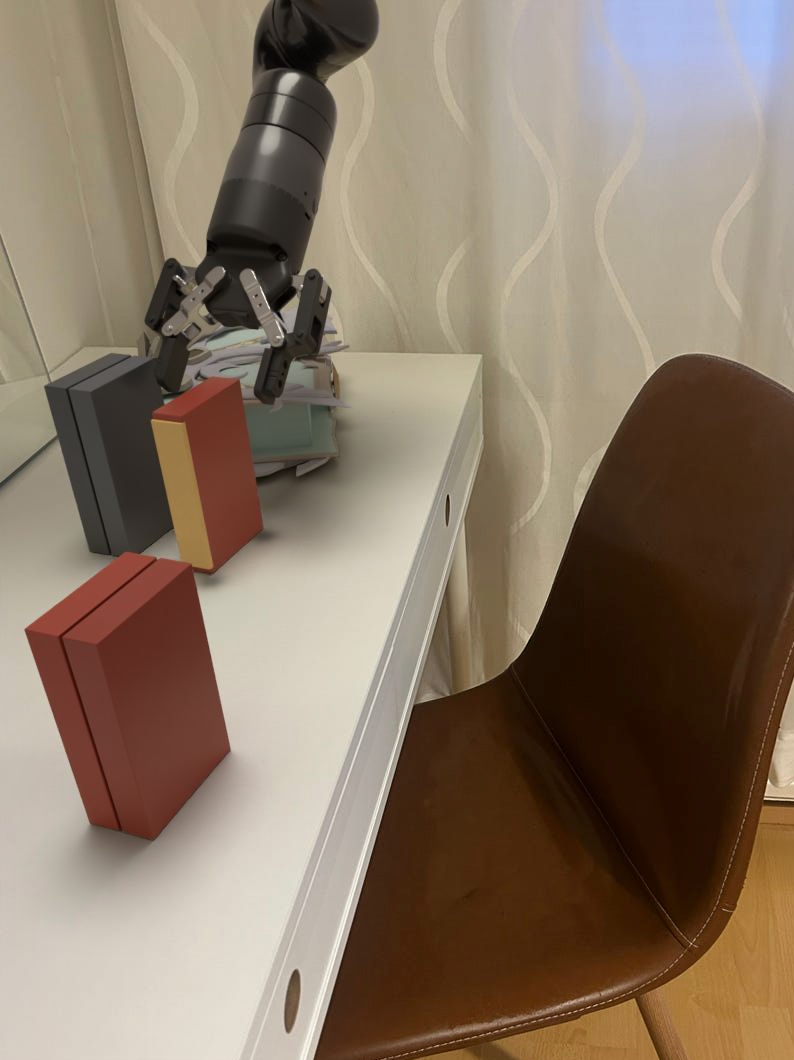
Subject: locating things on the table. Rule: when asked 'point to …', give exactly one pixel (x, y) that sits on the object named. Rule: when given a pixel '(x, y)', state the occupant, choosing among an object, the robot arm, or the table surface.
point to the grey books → (113, 451)
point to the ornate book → (296, 416)
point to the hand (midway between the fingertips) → (214, 394)
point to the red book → (208, 472)
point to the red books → (133, 691)
